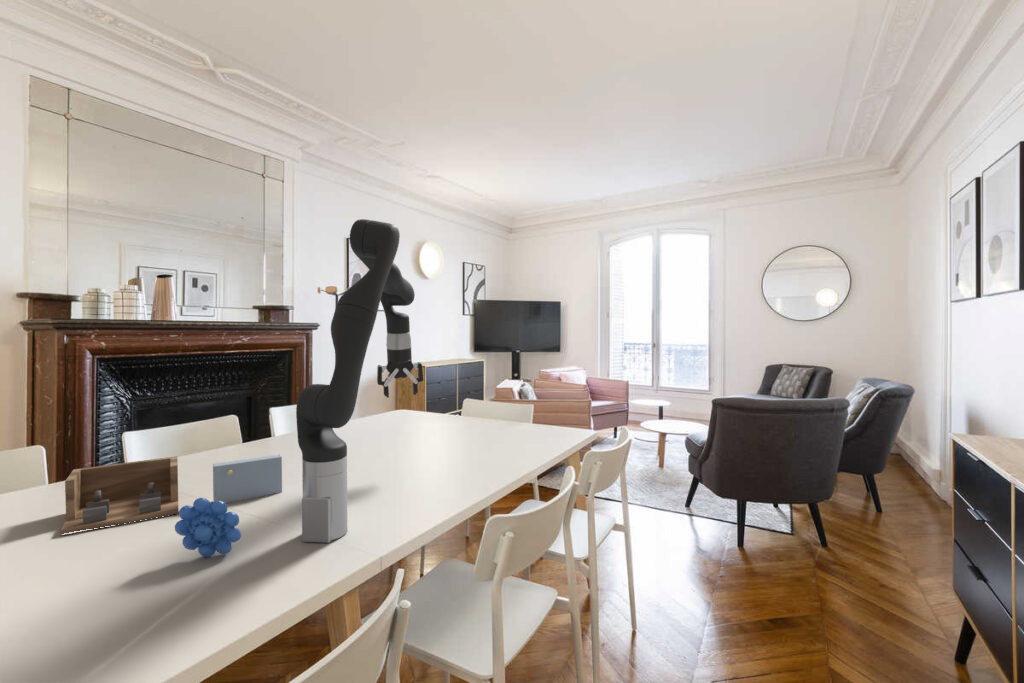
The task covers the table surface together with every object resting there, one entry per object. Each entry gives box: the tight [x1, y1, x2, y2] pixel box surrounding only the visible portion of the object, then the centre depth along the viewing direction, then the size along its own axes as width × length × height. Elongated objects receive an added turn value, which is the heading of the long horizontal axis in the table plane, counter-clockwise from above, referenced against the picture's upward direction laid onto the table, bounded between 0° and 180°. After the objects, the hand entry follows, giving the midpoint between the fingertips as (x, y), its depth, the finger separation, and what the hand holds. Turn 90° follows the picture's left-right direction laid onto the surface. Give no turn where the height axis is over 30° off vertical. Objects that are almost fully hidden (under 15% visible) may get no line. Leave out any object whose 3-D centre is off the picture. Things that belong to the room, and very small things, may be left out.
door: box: [212, 454, 283, 503], centre depth 128 cm, size 4×16×10 cm, turn 126°
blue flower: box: [174, 497, 242, 558], centre depth 94 cm, size 12×7×12 cm, turn 104°
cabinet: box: [60, 456, 179, 535], centre depth 116 cm, size 17×21×10 cm
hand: (401, 395), depth 153 cm, fingers open, 8 cm apart
